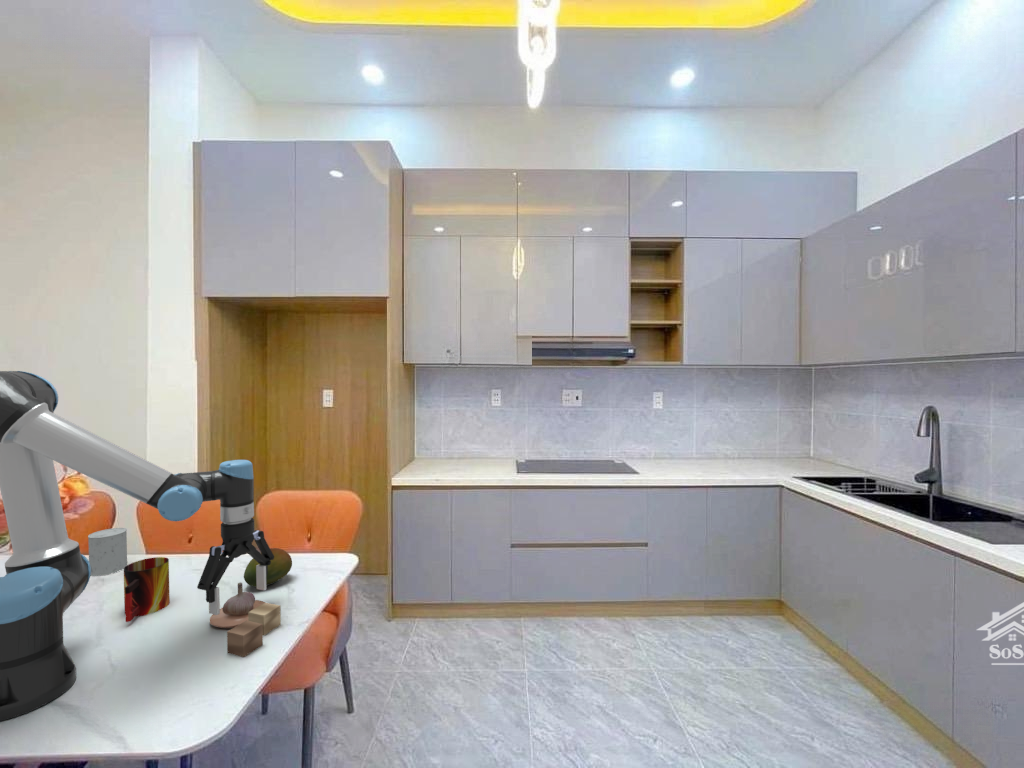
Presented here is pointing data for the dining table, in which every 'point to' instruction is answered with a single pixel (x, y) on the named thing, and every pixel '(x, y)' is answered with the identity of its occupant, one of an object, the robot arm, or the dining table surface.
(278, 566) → the fruit
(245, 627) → the walnut block
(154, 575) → the mug
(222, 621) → the peach ellipsoid
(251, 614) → the oak block
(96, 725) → the dining table surface
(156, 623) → the dining table surface
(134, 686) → the dining table surface
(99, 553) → the grey concrete cylinder
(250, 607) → the garlic bulb
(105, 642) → the dining table surface
